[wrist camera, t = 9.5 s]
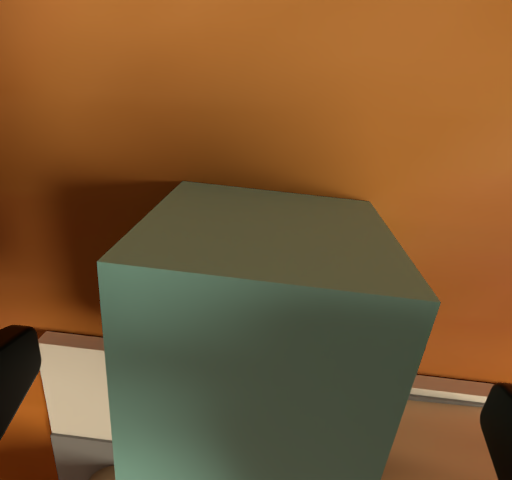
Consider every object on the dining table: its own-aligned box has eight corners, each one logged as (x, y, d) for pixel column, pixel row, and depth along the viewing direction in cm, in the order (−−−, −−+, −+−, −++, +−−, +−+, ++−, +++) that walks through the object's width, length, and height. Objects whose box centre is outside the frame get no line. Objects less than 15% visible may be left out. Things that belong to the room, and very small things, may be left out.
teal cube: (335, 350, 12) (367, 520, 7) (181, 331, 12) (115, 484, 7) (369, 200, 10) (440, 302, 5) (183, 180, 10) (96, 261, 5)
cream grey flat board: (449, 569, 16) (456, 590, 15) (78, 518, 16) (69, 536, 16) (541, 389, 12) (556, 407, 11) (46, 330, 12) (32, 344, 12)
